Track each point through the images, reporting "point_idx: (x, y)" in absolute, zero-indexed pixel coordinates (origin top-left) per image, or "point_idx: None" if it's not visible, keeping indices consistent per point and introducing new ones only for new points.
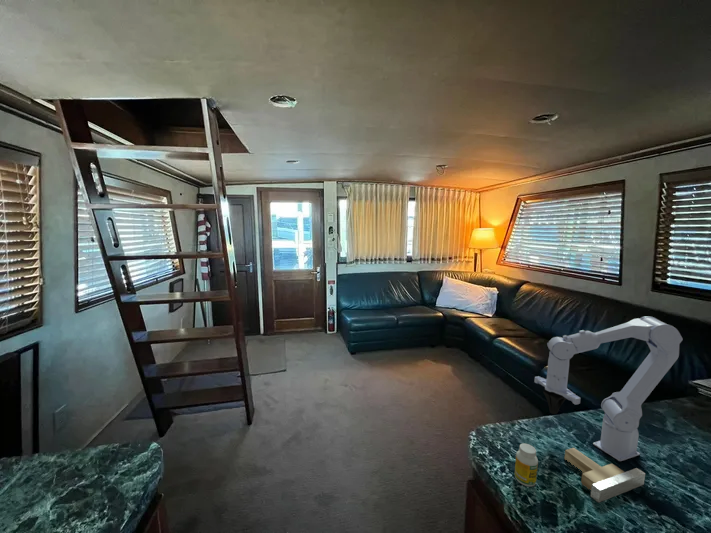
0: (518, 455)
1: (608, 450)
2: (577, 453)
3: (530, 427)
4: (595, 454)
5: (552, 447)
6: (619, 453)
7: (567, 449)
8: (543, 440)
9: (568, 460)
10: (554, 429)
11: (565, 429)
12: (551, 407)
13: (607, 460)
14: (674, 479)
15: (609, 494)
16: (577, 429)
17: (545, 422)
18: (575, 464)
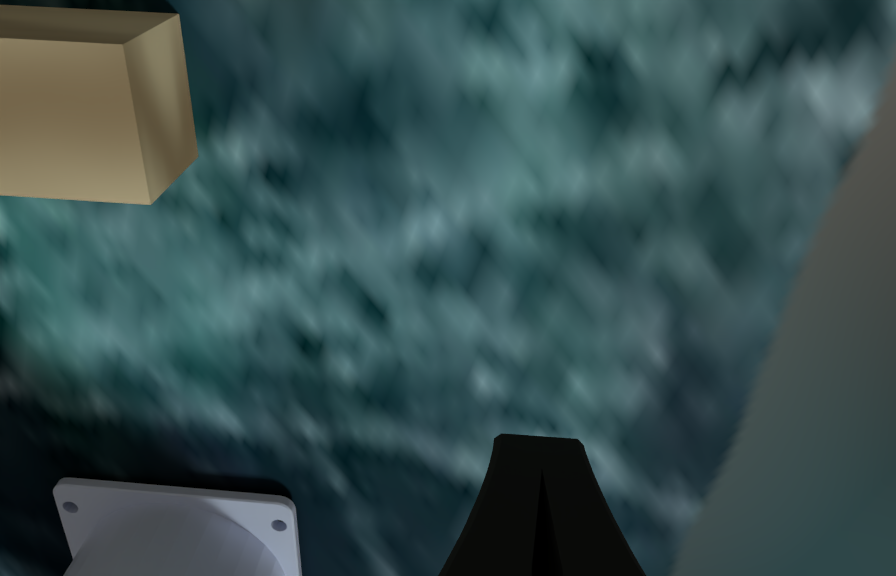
0: None
1: (151, 514)
2: (39, 138)
3: (789, 165)
4: (178, 392)
5: (383, 71)
6: (83, 545)
7: (131, 88)
8: (525, 85)
9: (119, 16)
10: (606, 393)
11: None
12: (529, 521)
13: (92, 407)
14: None
15: None
16: None
17: (740, 417)
18: (23, 15)
